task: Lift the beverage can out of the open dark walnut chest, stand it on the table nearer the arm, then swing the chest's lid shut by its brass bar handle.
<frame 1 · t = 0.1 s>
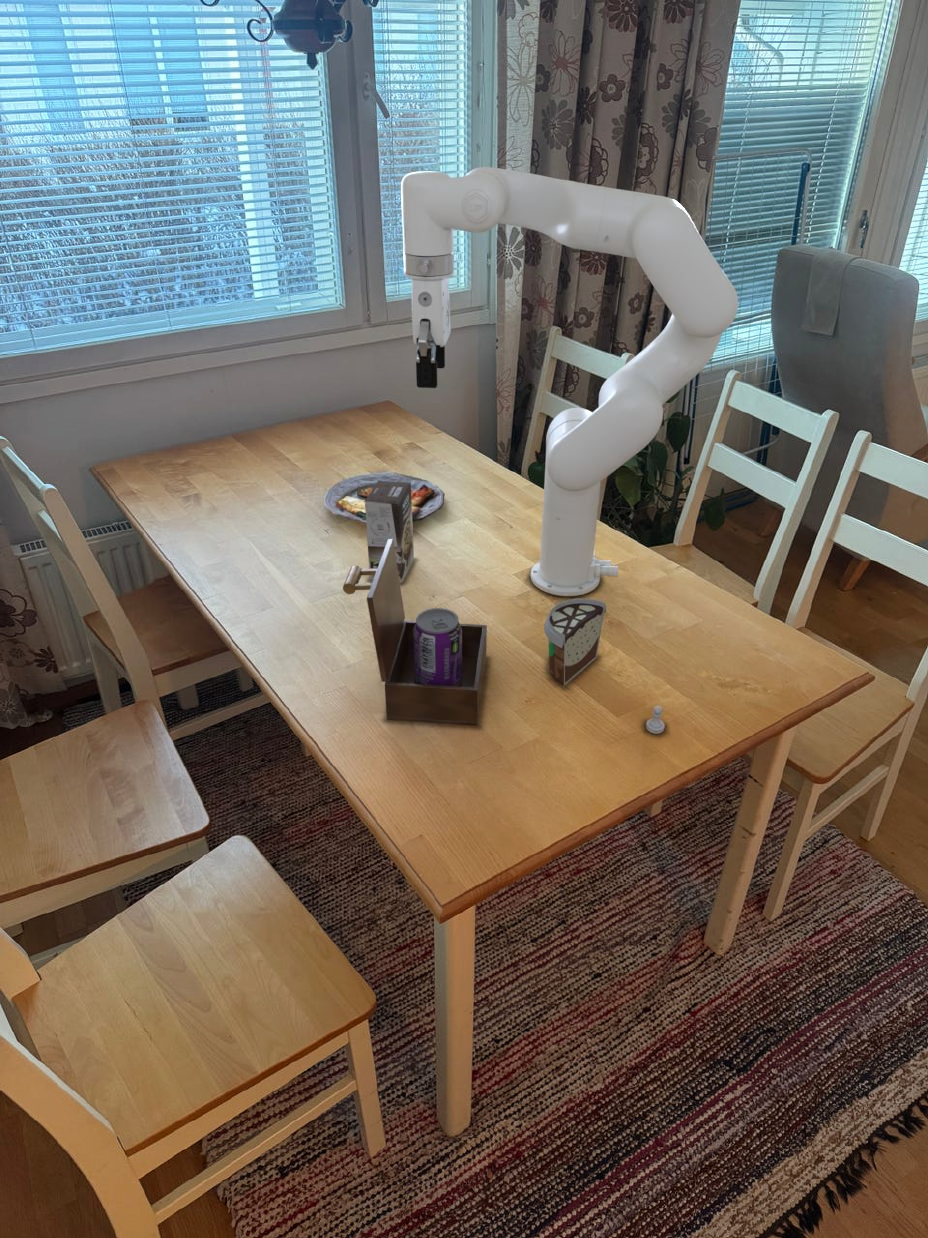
hand: (431, 377, 138), 37 cm above the table, tool pointing down, fingers open, 9 cm apart
beverage can: (438, 686, 130), resting on chest
pawn: (654, 729, 122), on the table
food container: (564, 665, 135), on the table
chest: (438, 688, 130), on the table
food plate: (385, 507, 181), on the table
lid: (371, 608, 123), point 14 cm above the table, hinge at 95.0°
coffee box: (392, 570, 159), on the table
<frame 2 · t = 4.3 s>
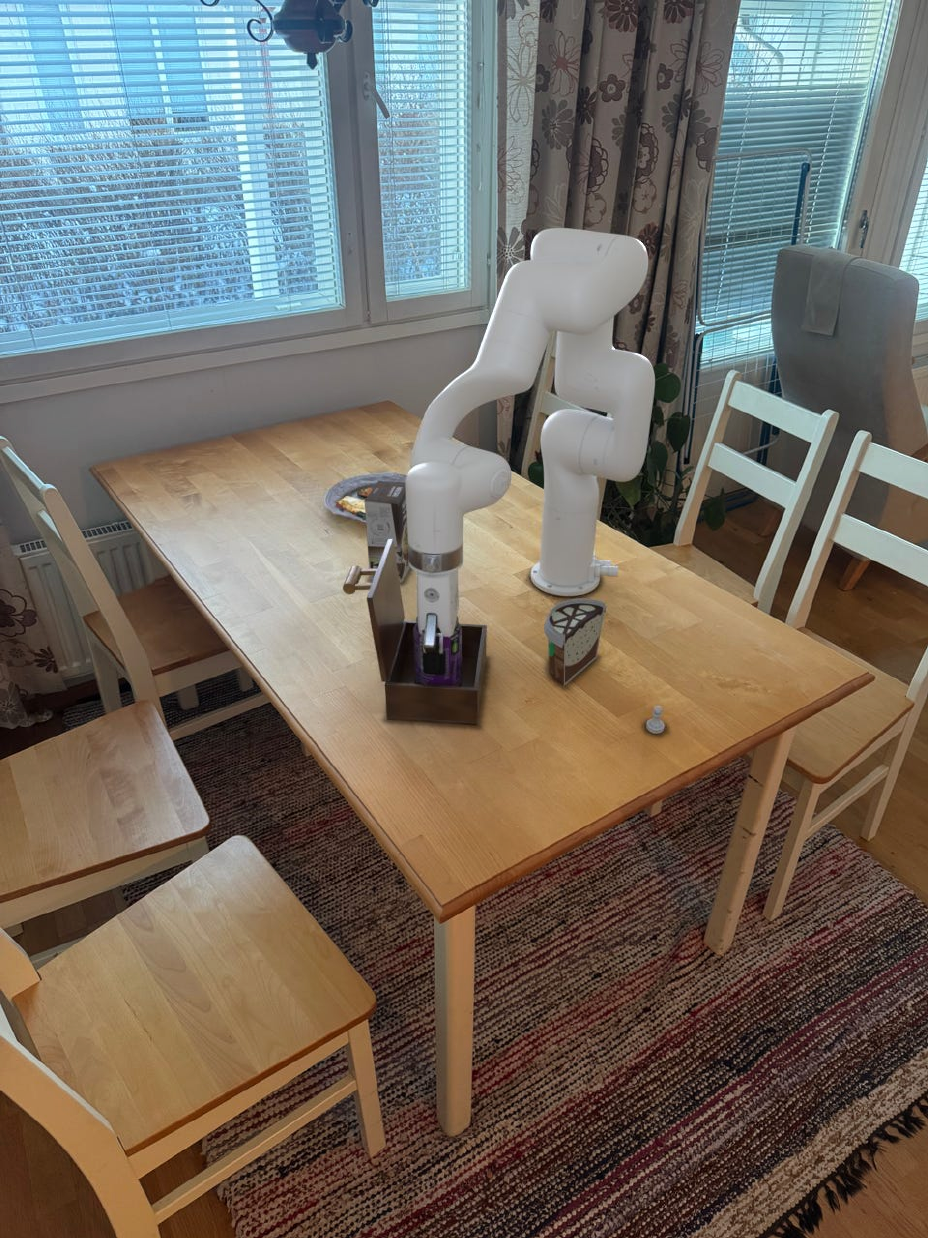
hand: (437, 656, 126), 6 cm above the table, tool pointing down, fingers closed on beverage can, 7 cm apart
beverage can: (438, 686, 130), resting on chest, touching gripper
everything else where it was.
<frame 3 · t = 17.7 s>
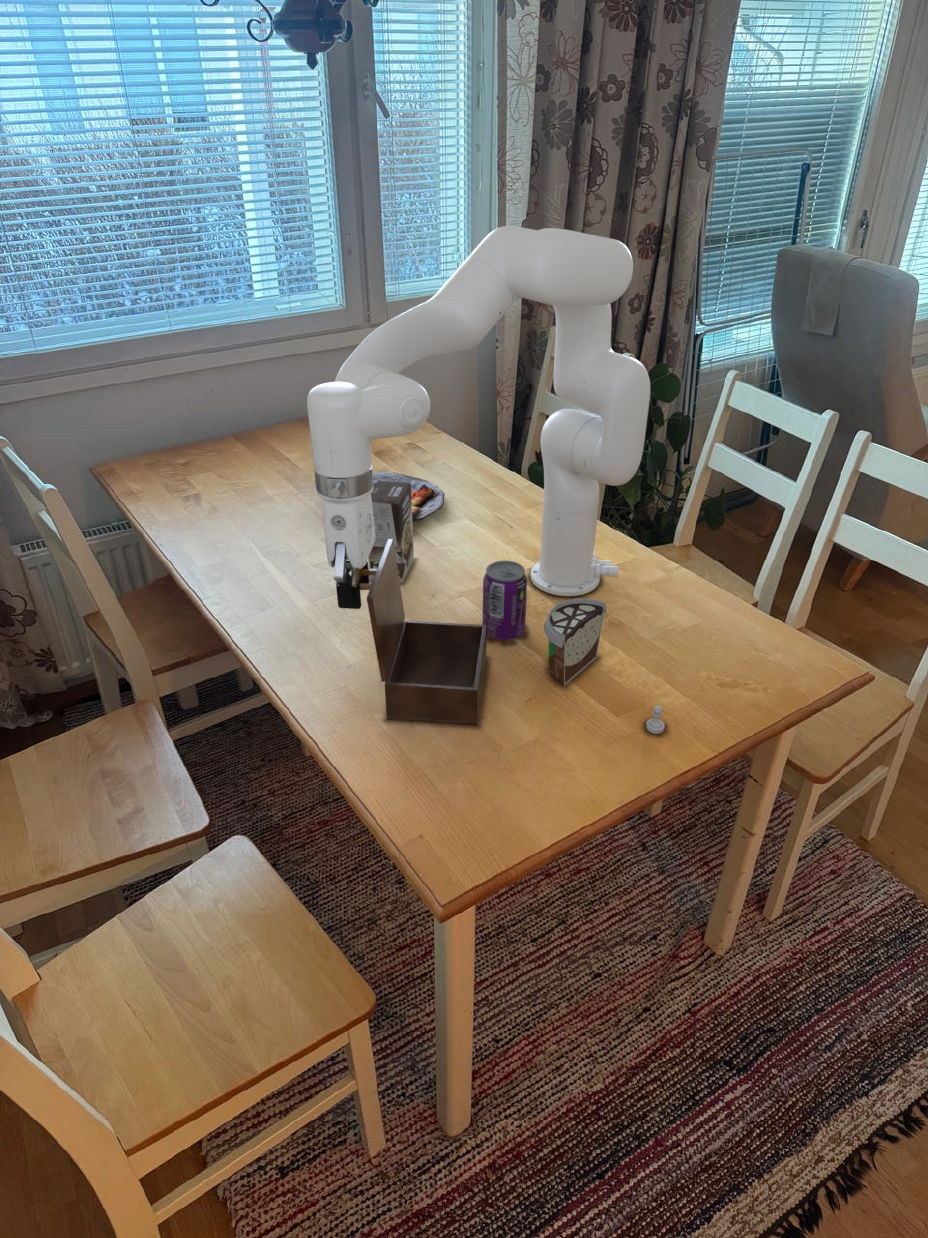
hand: (354, 595, 122), 16 cm above the table, tool pointing down, fingers closed on lid, 5 cm apart
beverage can: (503, 632, 142), on the table
lid: (371, 608, 123), point 14 cm above the table, hinge at 95.0°, touching gripper
everything else where it was.
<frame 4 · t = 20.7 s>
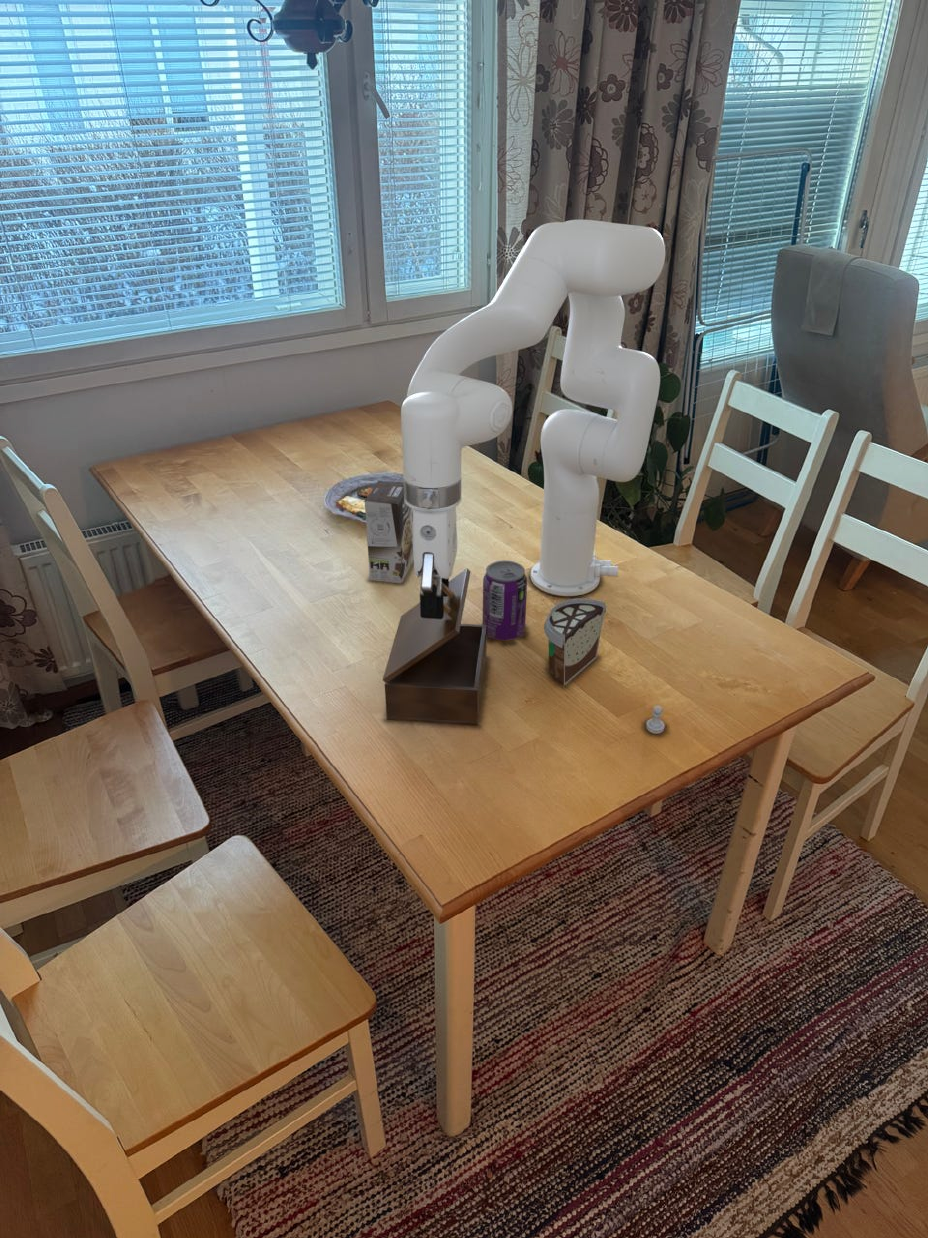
hand: (434, 605, 121), 15 cm above the table, tool pointing down, fingers closed on lid, 5 cm apart
lid: (416, 613, 122), point 14 cm above the table, hinge at 42.0°, touching gripper
everything else where it was.
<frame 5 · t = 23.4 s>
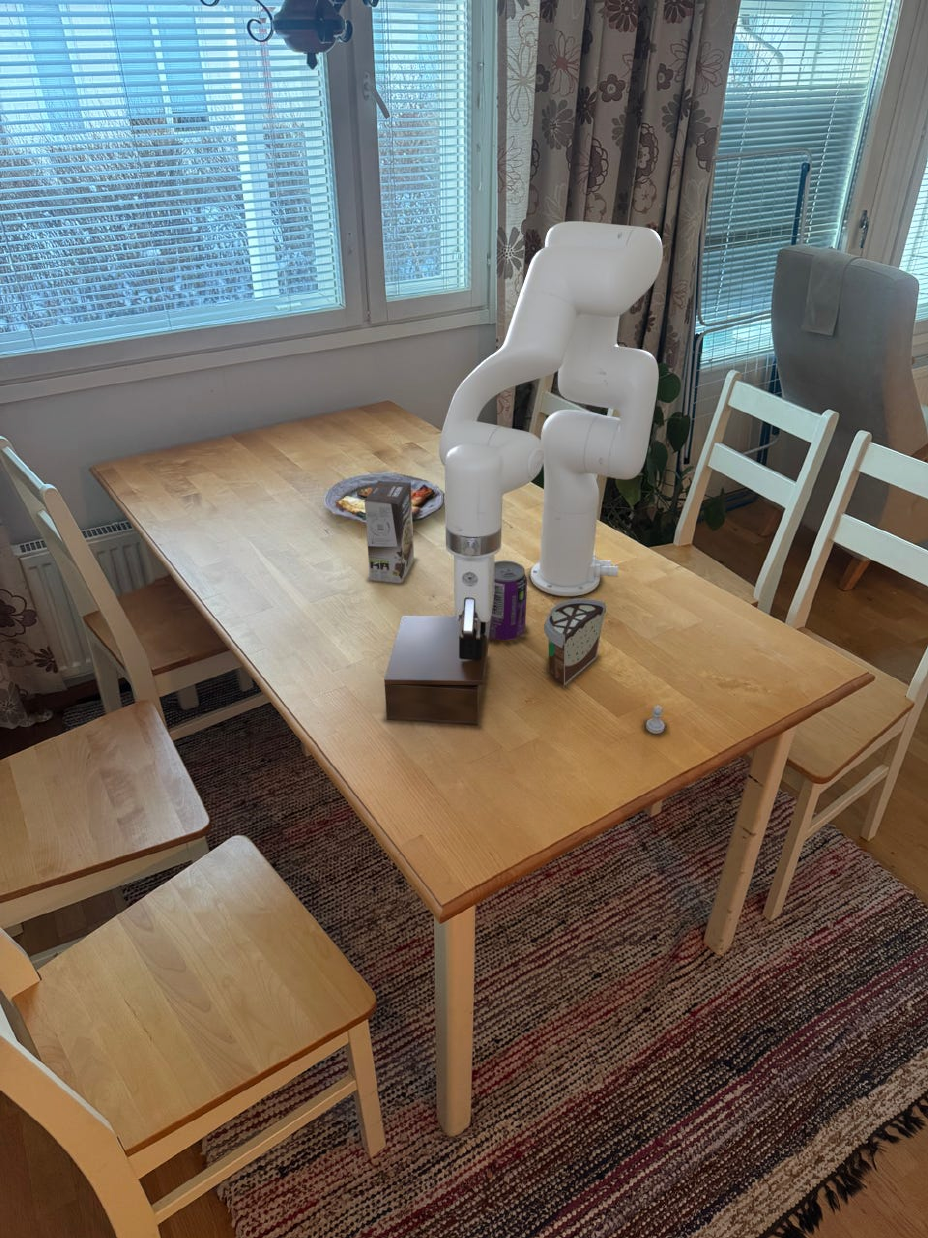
hand: (472, 644, 124), 9 cm above the table, tool pointing down, fingers open, 5 cm apart
lid: (439, 635, 124), point 10 cm above the table, hinge at 3.6°
everything else where it was.
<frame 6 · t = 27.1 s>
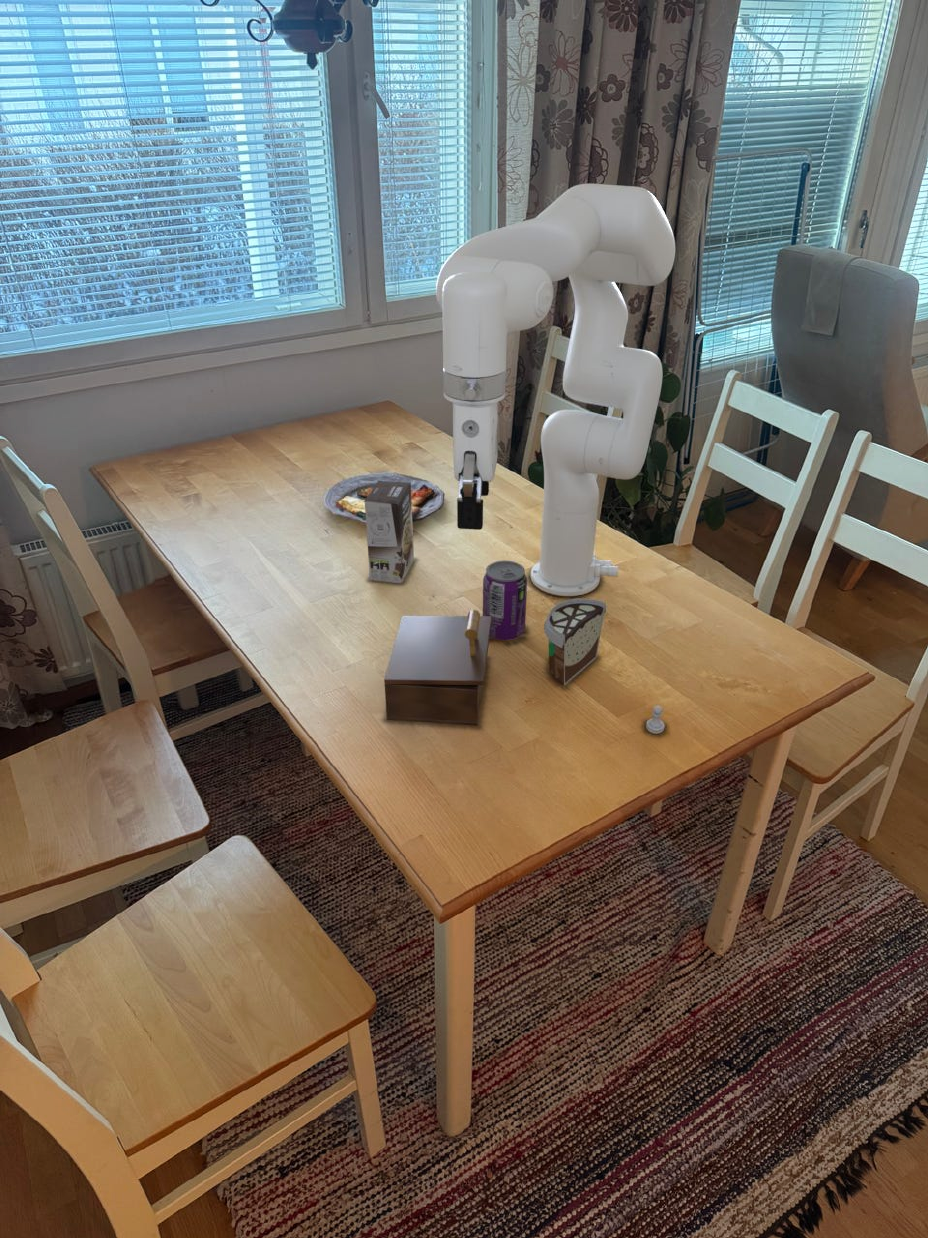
hand: (473, 510, 112), 30 cm above the table, tool pointing down, fingers open, 9 cm apart
nothing on the table moved.
at the end: beverage can inside the target area (0.1 cm from its centre), on the table; beverage can tilted 0°; lid at +4° (first picture: +95°) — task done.
